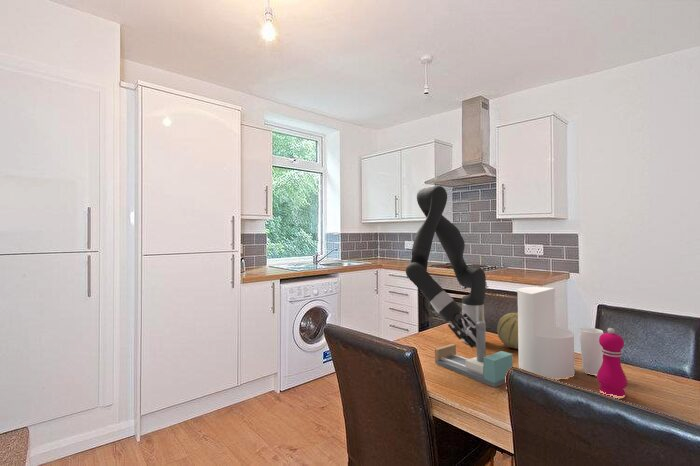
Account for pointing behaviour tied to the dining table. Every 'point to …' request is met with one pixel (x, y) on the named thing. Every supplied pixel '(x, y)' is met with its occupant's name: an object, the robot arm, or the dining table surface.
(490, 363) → the rail bed
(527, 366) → the white stepped block
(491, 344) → the dining table surface
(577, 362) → the dining table surface
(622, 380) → the pepper mill
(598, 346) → the drinking glass
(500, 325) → the cantaloupe
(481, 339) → the carriage
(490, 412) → the dining table surface
